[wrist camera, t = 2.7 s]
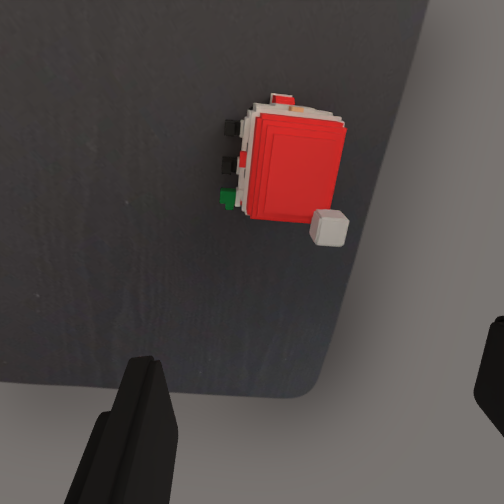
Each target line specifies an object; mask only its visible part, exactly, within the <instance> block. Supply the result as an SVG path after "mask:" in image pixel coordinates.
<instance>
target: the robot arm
mask: <svg viewBox="0 0 504 504" xmlns="http://www.w3.org/2000/svg"><path fill="white" fill-rule="evenodd" d="M474 398H475V400H476V402H477V404H478V405H479V407H480V408H481V409H482V410H483V411H484V413H485V414H486V415H487V417H488V418H489V419H490V420H491V422H492V423H493V424H494V425H495V427H496V428H497V429H498V430H499V432H500V433H501V434H502V436H503V437H504V316H499V317H497V318H496V319H495V322H493V323H492V324H491V325H490V329H489V332H488V336H487V340H486V344H485V348H484V352H483V356H482V360H481V364H480V368H479V372H478V376H477V379H476V383H475V387H474ZM177 443H178V427H177V422H176V418H175V415H174V411H173V407H172V403H171V399H170V395H169V391H168V388H167V384H166V380H165V376H164V372H163V368H162V365H161V362H160V360H156V361H154V358H153V357H152V356H144V357H135V358H131V359H130V360H129V362H128V365H127V367H126V370H125V373H124V376H123V379H122V381H121V384H120V387H119V390H118V393H117V395H116V399H115V401H114V404H113V407H112V409H111V411H107V412H102V413H101V414H100V415H99V417H98V418H97V421H96V423H95V425H94V428H93V430H92V433H91V436H90V438H89V441H88V443H87V446H86V448H85V451H84V453H83V456H82V459H81V461H80V464H79V466H78V469H77V472H76V474H75V477H74V479H73V482H72V484H71V487H70V489H69V492H68V494H67V497H66V500H65V502H64V504H169V501H170V493H171V486H172V479H173V472H174V464H175V457H176V449H177Z"/></svg>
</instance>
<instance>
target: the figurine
mask: <svg viewBox="0 0 504 504" xmlns="http://www.w3.org/2000/svg"><path fill="white" fill-rule="evenodd" d="M294 99H295V98H293V97H292V96H291V95H283V94H275V93H271V97H270V105H269V104H260V103H254V104H253V107H251V108H249V110H248V111H247V117H245V119H244V120H241V121H233V120H225V132H224V135H226V136H234V135H239V136H240V137H242V148H241V151H240V157H237V158H230V157H223V159H222V174H231V172H236V174H239V180H238V187H236V189H231V188H221V190H220V203H224V204H226V206H225V210H233V206H234V204H235V206H237V207H240V205H242V211H245V215H250V218H251V219H260V220H273V221H285V222H298V223H310V224H311V226H310V232H309V234H310V236H311V237H312V239H313V241H314V243H316V245H323V246H337V247H341V246H342V245H344V241H345V237H346V233H347V229H348V225H349V220H348V219H347V218H346V217H345V215H344V214H343V213H342V212H341V211H340V210H330V207H331V202H332V197H333V192H334V188H335V183H336V178H337V173H338V169H339V164H340V159H341V154H342V150H343V145H344V140H345V135H346V131H347V128H345V127H344V123H345V122H343V121H341V118H342V117H338V116H333V113H331V112H327V111H321V110H315V109H314V108H309V107H304V106H295V102H294Z"/></svg>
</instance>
